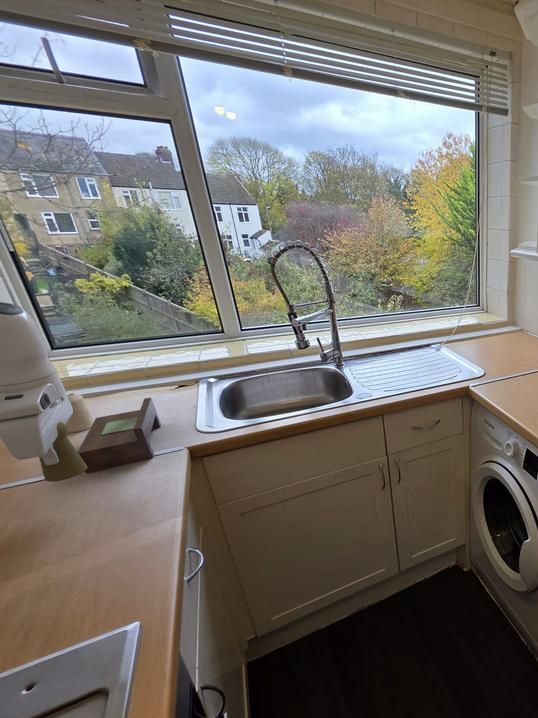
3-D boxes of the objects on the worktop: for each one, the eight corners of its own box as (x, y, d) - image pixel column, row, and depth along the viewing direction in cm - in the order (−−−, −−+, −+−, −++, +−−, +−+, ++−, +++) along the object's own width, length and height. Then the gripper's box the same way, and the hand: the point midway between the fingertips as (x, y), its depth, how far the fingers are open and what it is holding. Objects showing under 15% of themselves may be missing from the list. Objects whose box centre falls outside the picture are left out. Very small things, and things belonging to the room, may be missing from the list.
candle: (92, 420, 116) (77, 388, 112) (97, 426, 113) (82, 394, 109) (64, 428, 112) (49, 395, 108) (69, 434, 109) (53, 401, 105)
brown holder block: (86, 473, 93) (71, 442, 90) (103, 435, 108) (91, 407, 105) (153, 458, 100) (141, 428, 96) (161, 424, 115) (151, 397, 111)
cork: (87, 460, 85) (67, 414, 81) (87, 473, 81) (66, 425, 77) (45, 471, 81) (21, 423, 77) (43, 485, 77) (18, 435, 73)
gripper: (23, 375, 81) (51, 436, 86) (-22, 417, 65) (15, 487, 70) (68, 370, 84) (92, 428, 89) (35, 408, 68) (66, 476, 74)
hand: (58, 455), depth 80 cm, fingers closed on cork, 4 cm apart
